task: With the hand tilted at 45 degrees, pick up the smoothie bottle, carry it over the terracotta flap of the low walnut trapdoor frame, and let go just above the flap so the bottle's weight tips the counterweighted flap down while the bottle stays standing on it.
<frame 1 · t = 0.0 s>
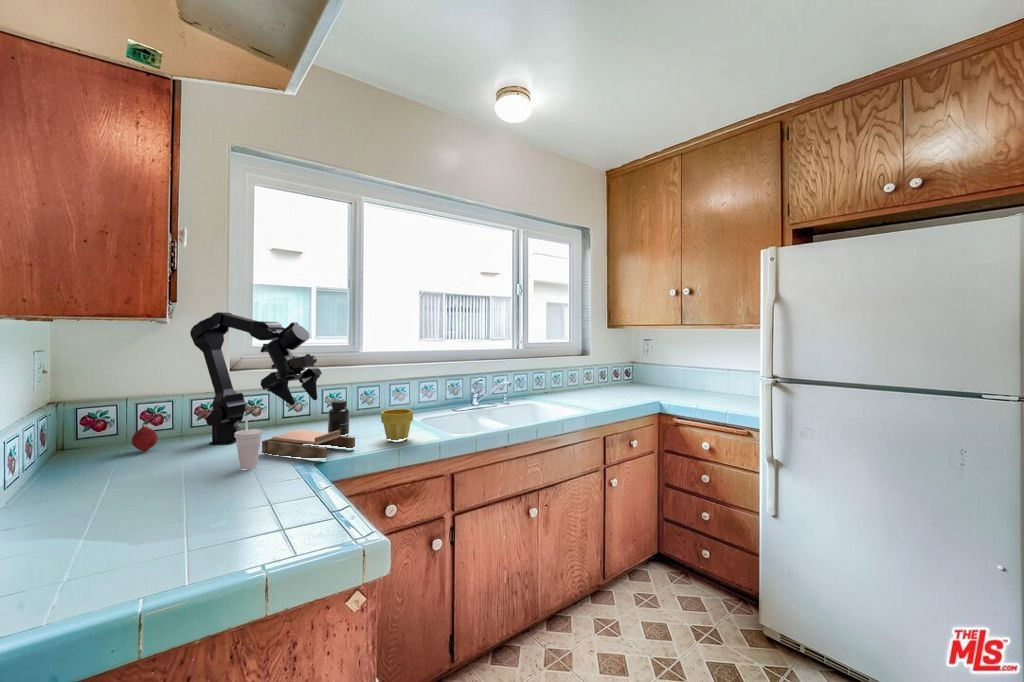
hand: (304, 402, 129), 15 cm above the table, tool tilted 35°, fingers open, 9 cm apart
trapdoor: (306, 439, 128), point 4 cm above the table, hinge at 0.0°
trapdoor frame: (312, 452, 128), on the table
onion: (144, 452, 126), on the table
supplement bottle: (338, 436, 148), on the table
plant pot: (396, 440, 143), on the table
smoothie: (248, 468, 113), on the table
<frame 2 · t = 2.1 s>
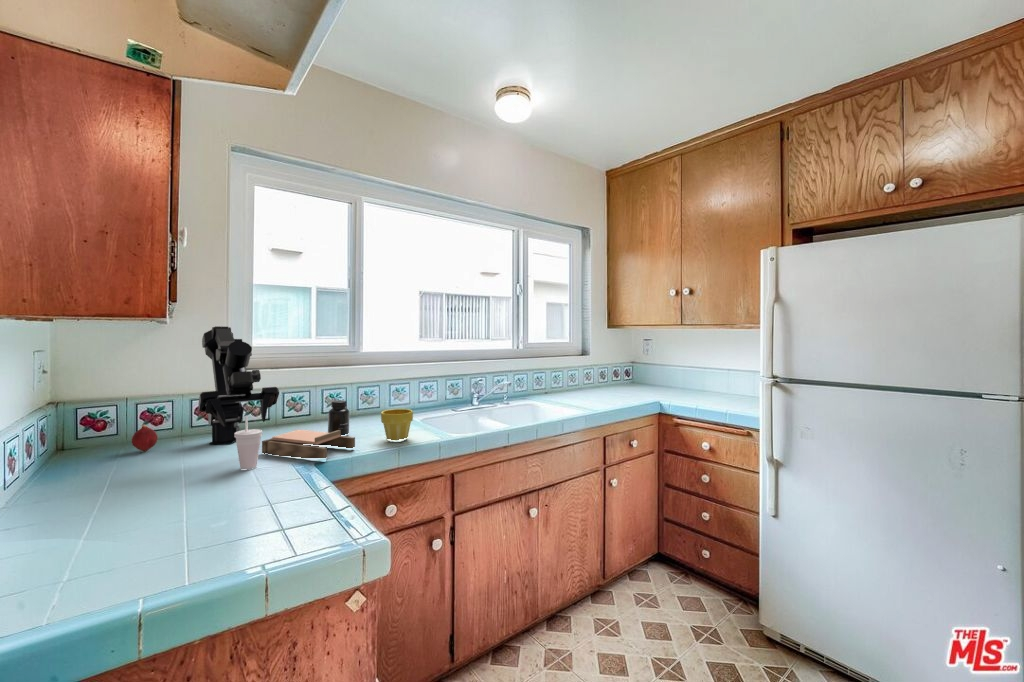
hand: (245, 423, 116), 11 cm above the table, tool tilted 45°, fingers open, 9 cm apart
nothing on the table moved.
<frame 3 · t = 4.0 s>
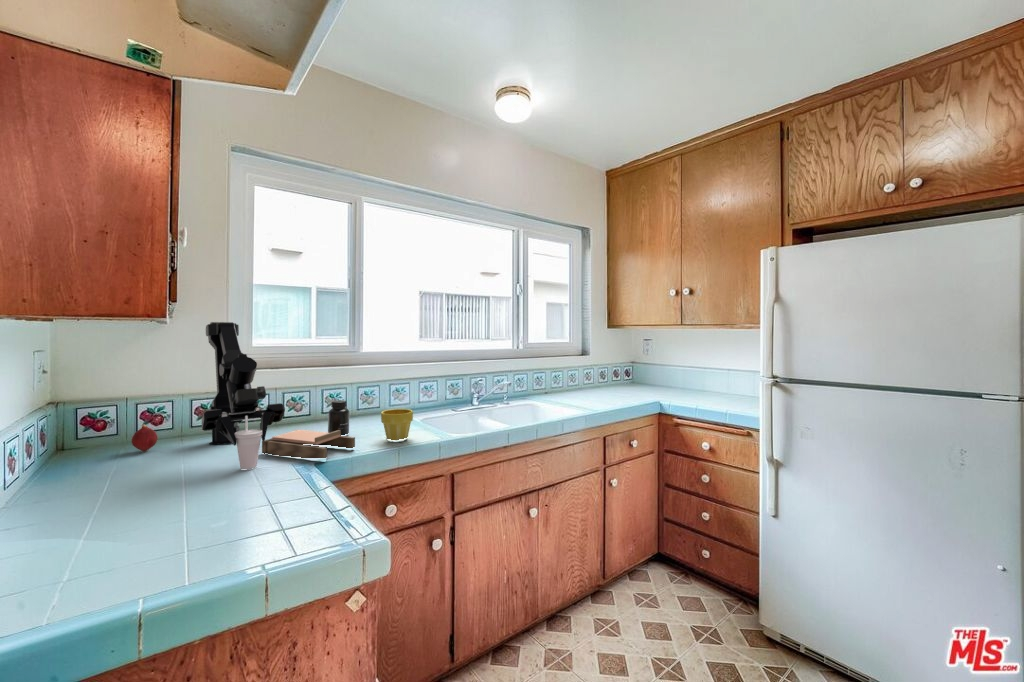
hand: (249, 442, 112), 7 cm above the table, tool tilted 45°, fingers closed on smoothie, 6 cm apart
smoothie: (248, 468, 113), on the table, touching gripper
everything else where it was.
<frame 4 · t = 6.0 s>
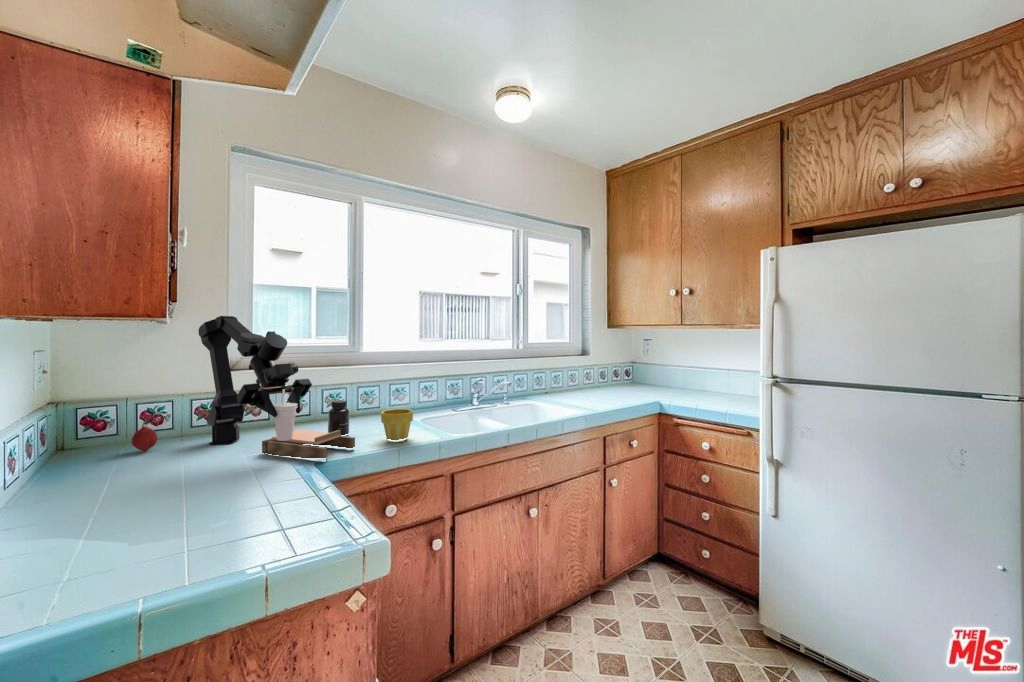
hand: (287, 414, 118), 13 cm above the table, tool tilted 45°, fingers closed on smoothie, 6 cm apart
smoothie: (284, 439, 119), point 6 cm above the table, touching gripper
everything else where it was.
when the fingers open (13 cm above the table, at t = 8.5 s): smoothie drops 2 cm, resting on trapdoor.
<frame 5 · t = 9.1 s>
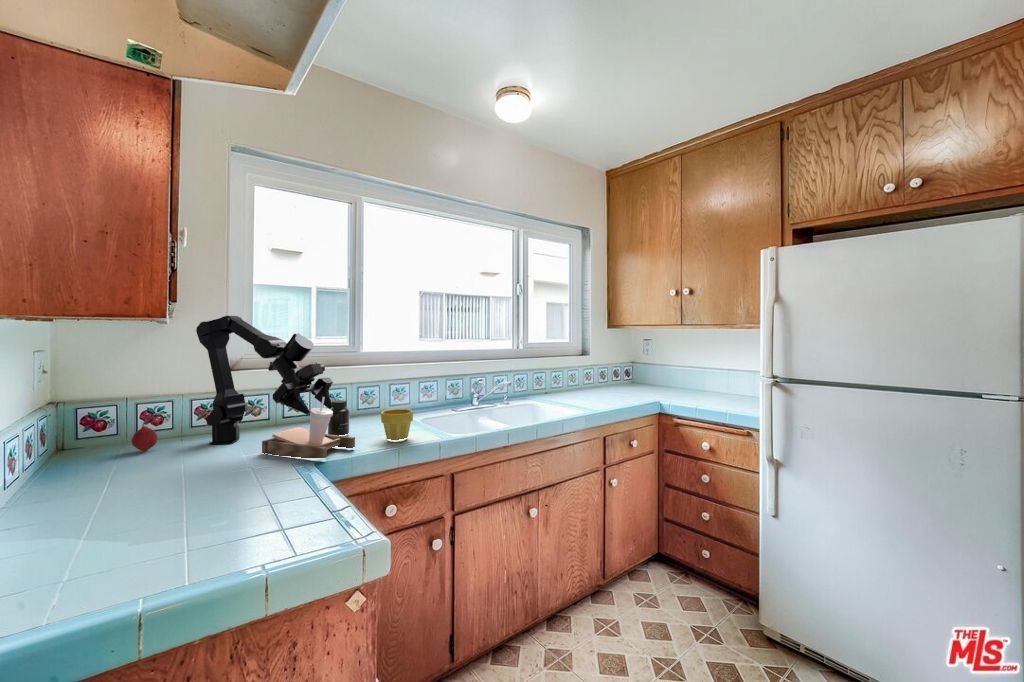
hand: (320, 410, 126), 13 cm above the table, tool tilted 45°, fingers open, 9 cm apart
trapdoor: (306, 442, 128), point 3 cm above the table, hinge at -12.5°, touching smoothie
smoothie: (315, 442, 127), point 3 cm above the table, touching trapdoor
everything else where it was.
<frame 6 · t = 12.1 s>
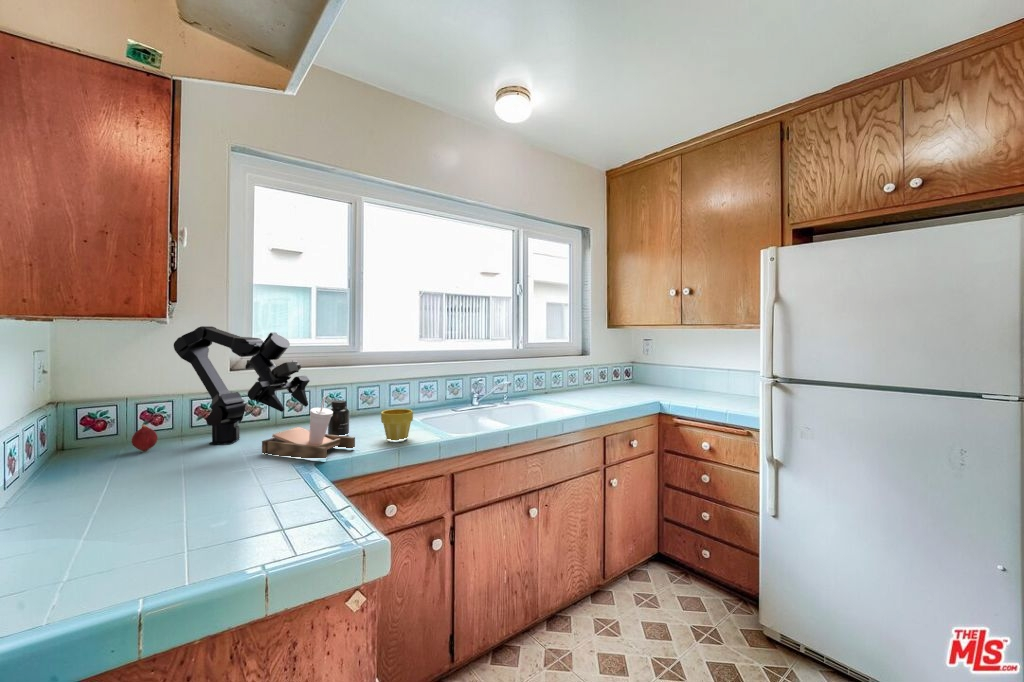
hand: (295, 408, 129), 13 cm above the table, tool tilted 45°, fingers open, 9 cm apart
nothing on the table moved.
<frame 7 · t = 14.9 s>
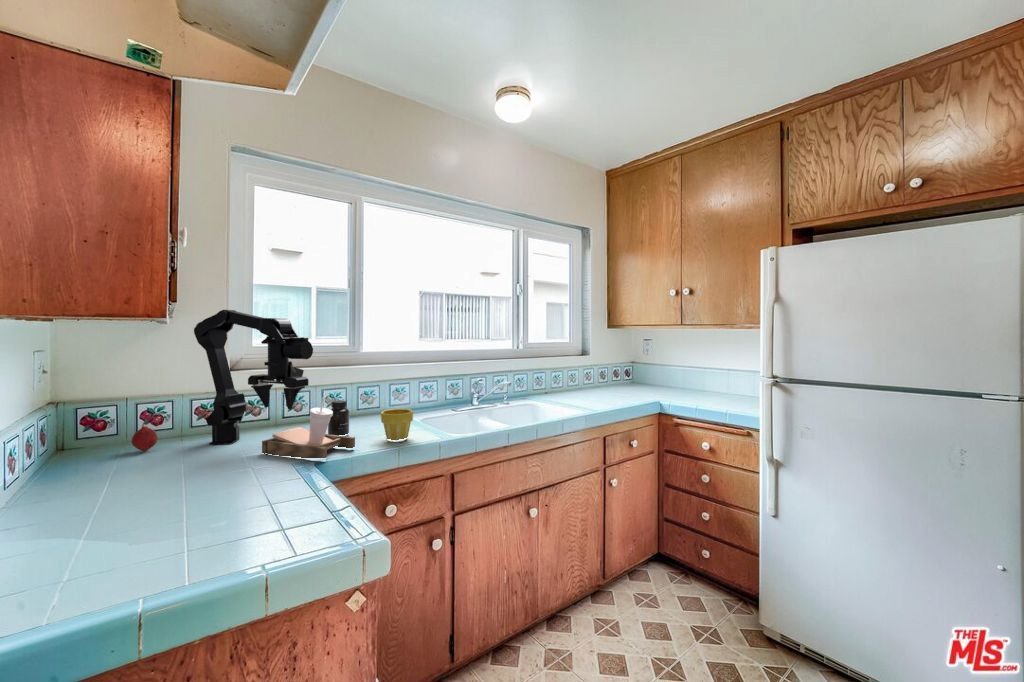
hand: (278, 408, 133), 12 cm above the table, tool pointing down, fingers open, 9 cm apart
nothing on the table moved.
at the end: trapdoor at -13° (first picture: +0°); smoothie touching trapdoor; smoothie tilted 13° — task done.
